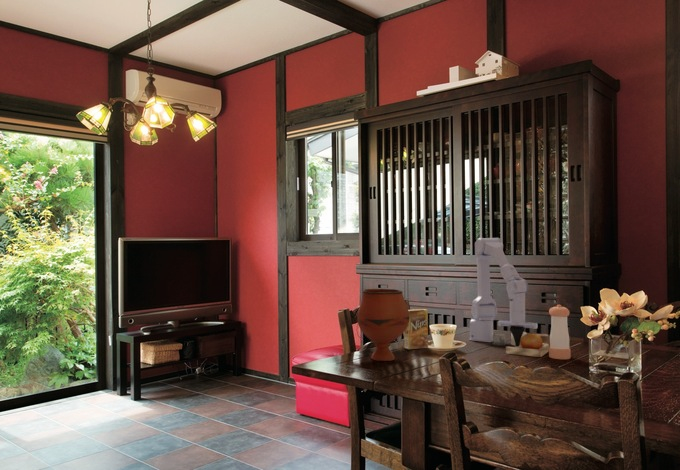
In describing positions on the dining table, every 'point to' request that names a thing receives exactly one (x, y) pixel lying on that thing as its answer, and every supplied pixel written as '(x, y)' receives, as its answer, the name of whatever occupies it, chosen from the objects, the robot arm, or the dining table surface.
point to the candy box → (416, 329)
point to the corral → (528, 350)
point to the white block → (514, 340)
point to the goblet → (383, 319)
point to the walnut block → (544, 338)
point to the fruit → (531, 341)
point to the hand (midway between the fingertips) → (517, 345)
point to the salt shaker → (559, 333)
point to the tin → (499, 339)
